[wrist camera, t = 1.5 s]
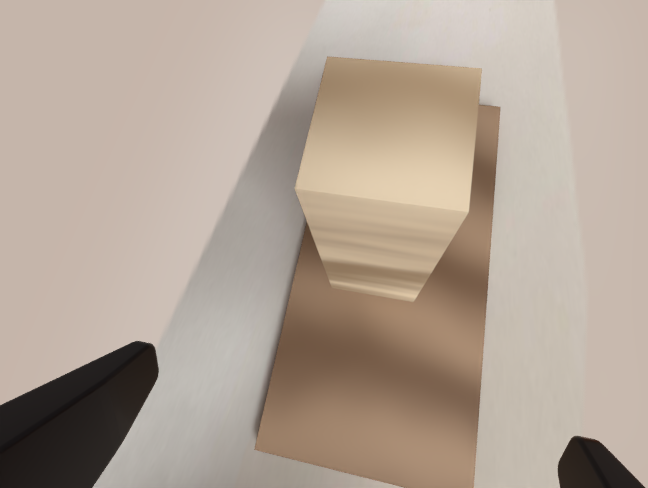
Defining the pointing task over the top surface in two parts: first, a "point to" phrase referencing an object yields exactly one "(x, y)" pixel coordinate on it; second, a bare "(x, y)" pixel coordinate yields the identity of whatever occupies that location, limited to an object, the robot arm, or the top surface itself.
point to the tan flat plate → (389, 360)
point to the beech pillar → (388, 170)
